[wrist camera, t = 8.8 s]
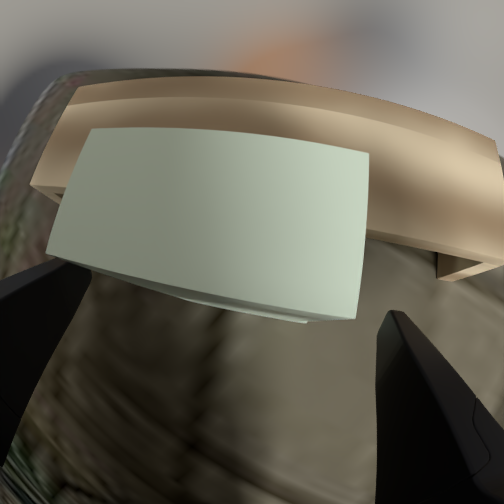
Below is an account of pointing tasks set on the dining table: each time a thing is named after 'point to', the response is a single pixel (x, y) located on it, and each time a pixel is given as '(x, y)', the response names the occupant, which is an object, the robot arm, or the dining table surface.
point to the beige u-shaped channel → (324, 132)
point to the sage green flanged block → (220, 219)
